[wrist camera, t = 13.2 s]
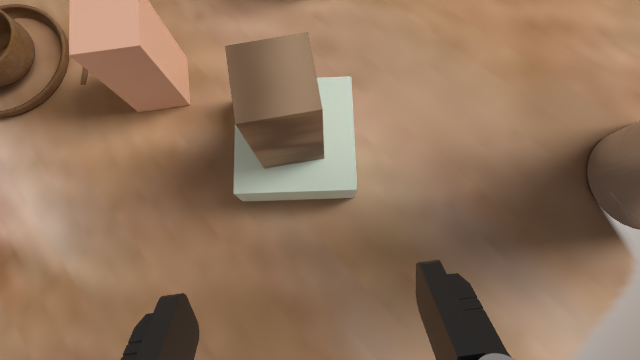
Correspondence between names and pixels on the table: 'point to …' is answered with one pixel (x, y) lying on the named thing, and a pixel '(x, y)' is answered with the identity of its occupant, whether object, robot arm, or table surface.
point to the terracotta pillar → (129, 52)
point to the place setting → (27, 53)
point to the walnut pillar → (277, 99)
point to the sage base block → (311, 176)
